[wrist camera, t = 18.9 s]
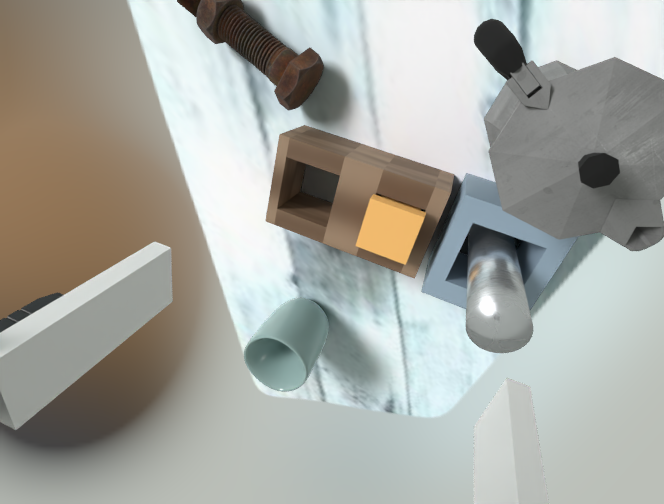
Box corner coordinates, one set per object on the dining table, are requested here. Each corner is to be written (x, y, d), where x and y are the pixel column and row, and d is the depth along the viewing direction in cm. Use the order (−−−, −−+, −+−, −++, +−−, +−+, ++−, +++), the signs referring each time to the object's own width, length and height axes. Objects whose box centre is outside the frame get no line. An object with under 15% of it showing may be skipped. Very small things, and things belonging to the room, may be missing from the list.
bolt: (211, -16, 38) (325, 79, 38) (180, 23, 38) (293, 118, 38) (188, -62, 32) (321, 49, 32) (151, -15, 33) (284, 95, 33)
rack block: (466, 173, 36) (465, 194, 30) (562, 204, 35) (580, 233, 29) (428, 258, 41) (421, 291, 35) (511, 289, 40) (517, 329, 34)
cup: (309, 346, 53) (278, 401, 44) (270, 307, 52) (231, 354, 43) (347, 321, 49) (321, 376, 40) (306, 278, 48) (270, 324, 39)
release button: (385, 177, 38) (370, 198, 32) (432, 193, 37) (424, 217, 31) (372, 219, 40) (355, 245, 34) (415, 235, 39) (405, 264, 34)
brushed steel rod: (462, 243, 39) (456, 338, 26) (478, 209, 37) (481, 292, 24) (500, 257, 39) (514, 361, 25) (519, 223, 37) (545, 317, 23)
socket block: (304, 125, 39) (279, 134, 34) (454, 174, 37) (451, 192, 32) (289, 202, 44) (265, 221, 39) (421, 251, 41) (414, 278, 36)
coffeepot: (644, 143, 31) (811, 222, 16) (534, 210, 36) (580, 320, 20) (531, -12, 29) (596, -95, 14) (431, 81, 34) (397, 96, 19)
